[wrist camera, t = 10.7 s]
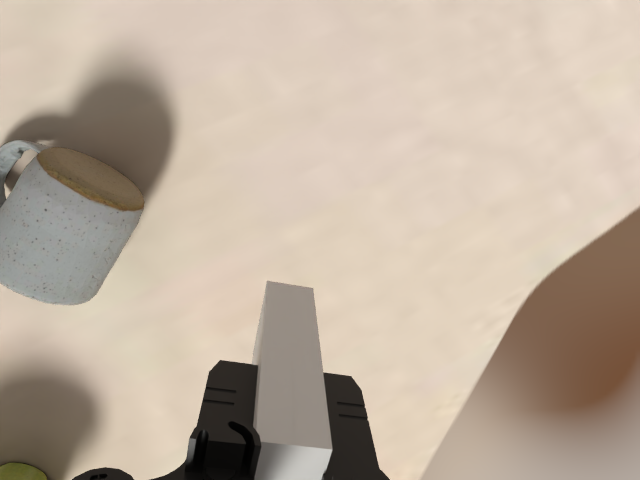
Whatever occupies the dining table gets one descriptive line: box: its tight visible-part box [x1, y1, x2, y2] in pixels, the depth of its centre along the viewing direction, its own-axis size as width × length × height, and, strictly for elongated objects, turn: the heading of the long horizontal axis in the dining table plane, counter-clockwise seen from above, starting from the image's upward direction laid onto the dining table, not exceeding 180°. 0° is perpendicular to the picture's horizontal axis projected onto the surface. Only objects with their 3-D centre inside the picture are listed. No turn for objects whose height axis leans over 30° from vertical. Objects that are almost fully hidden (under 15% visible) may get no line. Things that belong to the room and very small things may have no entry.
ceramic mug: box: [0, 140, 144, 305], centre depth 30 cm, size 11×8×8 cm
